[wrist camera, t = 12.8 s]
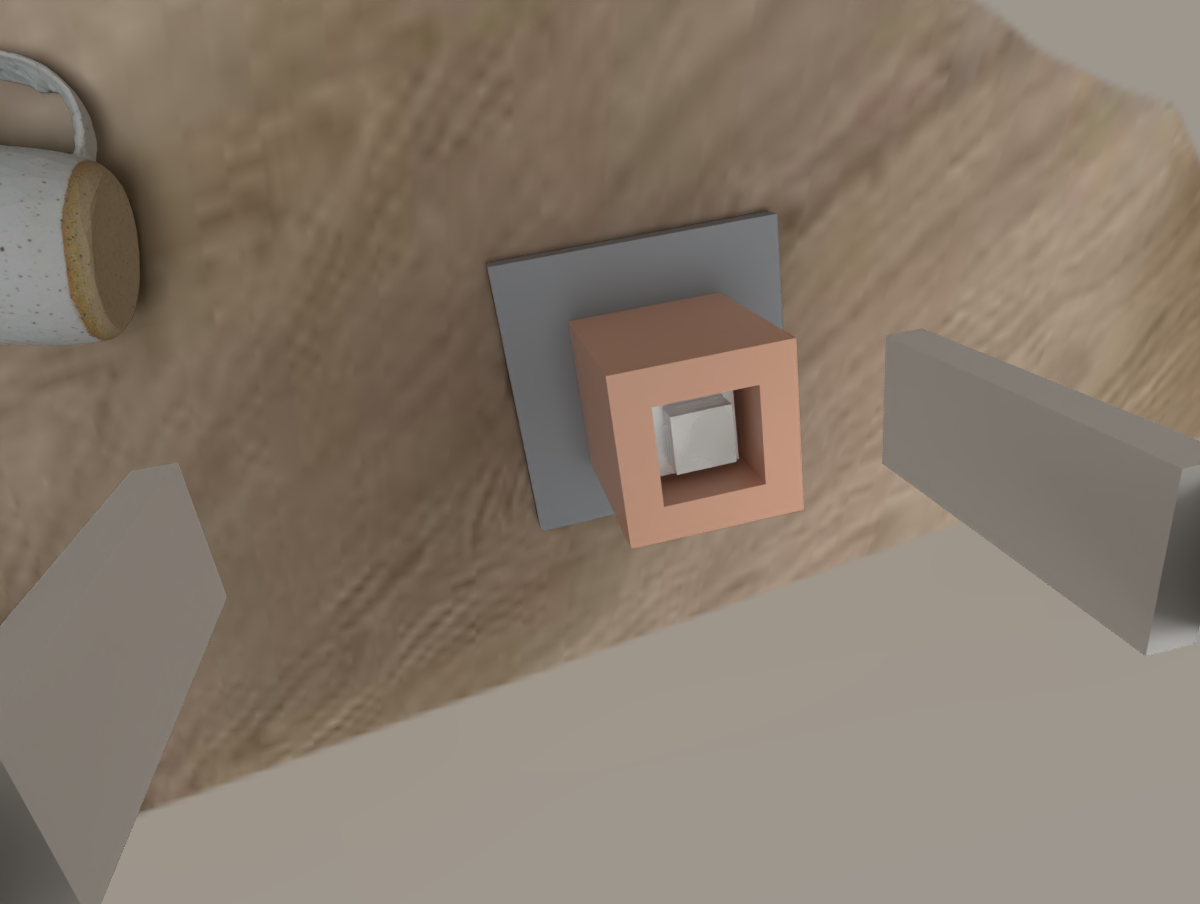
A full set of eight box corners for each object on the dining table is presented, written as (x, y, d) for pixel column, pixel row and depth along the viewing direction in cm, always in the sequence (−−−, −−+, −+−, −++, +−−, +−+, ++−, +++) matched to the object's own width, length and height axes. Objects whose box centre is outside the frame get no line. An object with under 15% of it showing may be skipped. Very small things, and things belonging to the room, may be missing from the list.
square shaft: (623, 420, 40) (666, 488, 33) (613, 353, 39) (656, 408, 32) (691, 406, 41) (748, 469, 33) (684, 339, 39) (742, 390, 32)
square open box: (591, 464, 41) (630, 549, 33) (567, 321, 38) (605, 376, 30) (731, 434, 42) (803, 509, 34) (719, 292, 39) (796, 337, 31)
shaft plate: (538, 521, 43) (541, 531, 42) (485, 263, 37) (487, 267, 36) (782, 466, 45) (791, 474, 44) (767, 211, 39) (777, 213, 38)
